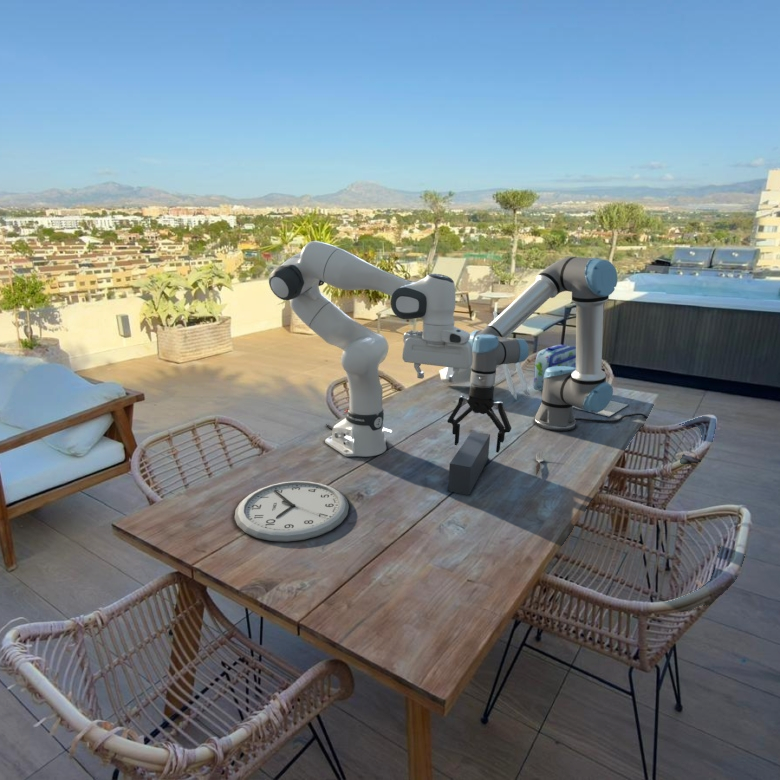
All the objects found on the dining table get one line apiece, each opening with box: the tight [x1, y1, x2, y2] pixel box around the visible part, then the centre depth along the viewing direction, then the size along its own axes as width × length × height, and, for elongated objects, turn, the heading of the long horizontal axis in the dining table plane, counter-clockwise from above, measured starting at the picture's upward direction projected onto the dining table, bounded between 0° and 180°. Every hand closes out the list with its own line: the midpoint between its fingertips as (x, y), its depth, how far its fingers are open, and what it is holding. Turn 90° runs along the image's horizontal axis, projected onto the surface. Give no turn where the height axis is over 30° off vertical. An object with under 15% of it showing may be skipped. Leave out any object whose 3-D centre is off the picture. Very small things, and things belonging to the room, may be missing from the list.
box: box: [447, 431, 491, 496], centre depth 161 cm, size 27×6×9 cm, turn 158°
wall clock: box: [234, 480, 350, 543], centre depth 140 cm, size 30×2×30 cm
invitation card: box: [573, 400, 629, 418], centre depth 226 cm, size 21×1×15 cm
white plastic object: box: [438, 310, 531, 400], centre depth 245 cm, size 37×45×31 cm
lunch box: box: [533, 344, 576, 392], centre depth 247 cm, size 26×11×21 cm, turn 134°
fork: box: [535, 451, 546, 476], centre depth 168 cm, size 3×16×2 cm, turn 160°
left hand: (435, 380), depth 152 cm, fingers open, 8 cm apart
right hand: (476, 447), depth 169 cm, fingers open, 13 cm apart
